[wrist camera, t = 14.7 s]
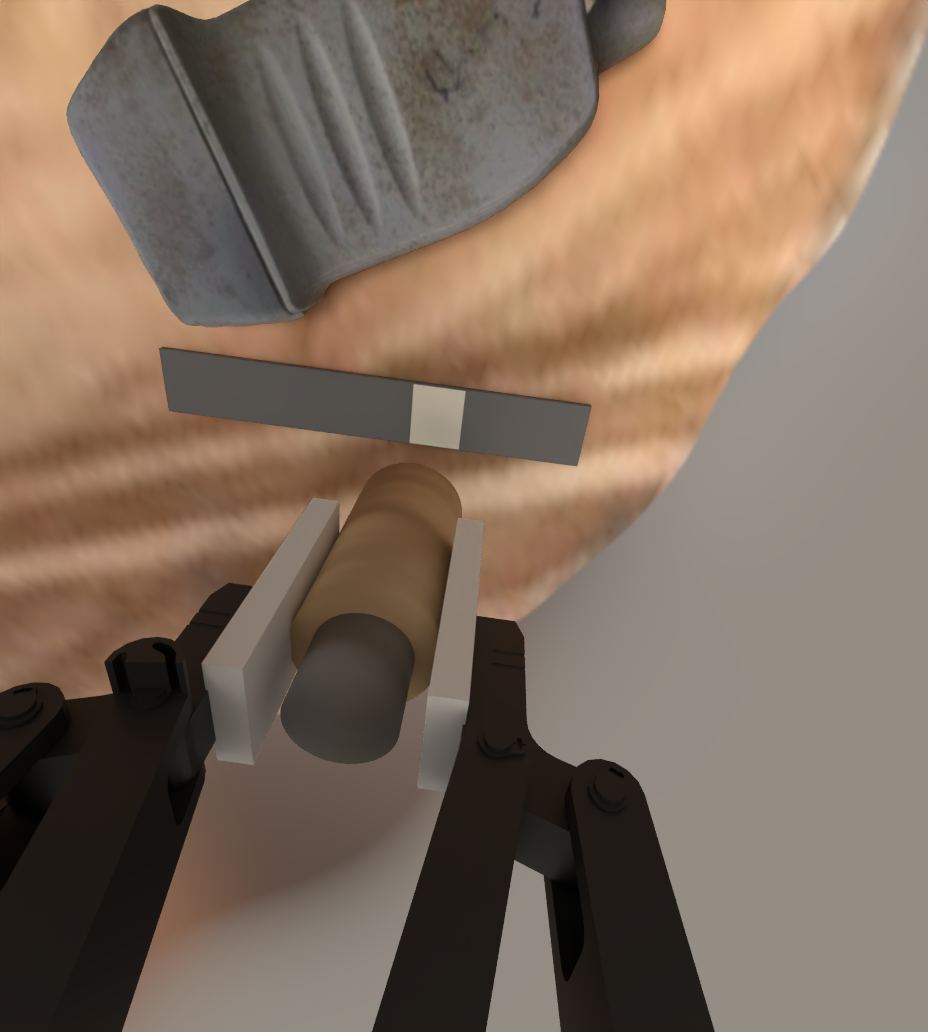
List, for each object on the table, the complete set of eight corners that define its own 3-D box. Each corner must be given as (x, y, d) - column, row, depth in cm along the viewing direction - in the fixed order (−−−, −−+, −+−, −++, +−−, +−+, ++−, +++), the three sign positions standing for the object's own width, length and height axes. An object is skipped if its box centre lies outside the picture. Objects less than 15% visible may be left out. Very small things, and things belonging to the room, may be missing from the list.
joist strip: (172, 409, 27) (168, 411, 27) (162, 347, 26) (158, 348, 25) (576, 463, 27) (577, 466, 27) (590, 404, 26) (591, 407, 25)
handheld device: (676, 167, 21) (715, 160, 17) (233, 340, 26) (181, 366, 22) (625, -184, 17) (660, -304, 13) (103, 98, 21) (8, 74, 17)
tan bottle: (358, 545, 20) (259, 767, 12) (361, 455, 18) (246, 646, 10) (455, 559, 20) (420, 791, 12) (467, 470, 18) (434, 672, 10)
